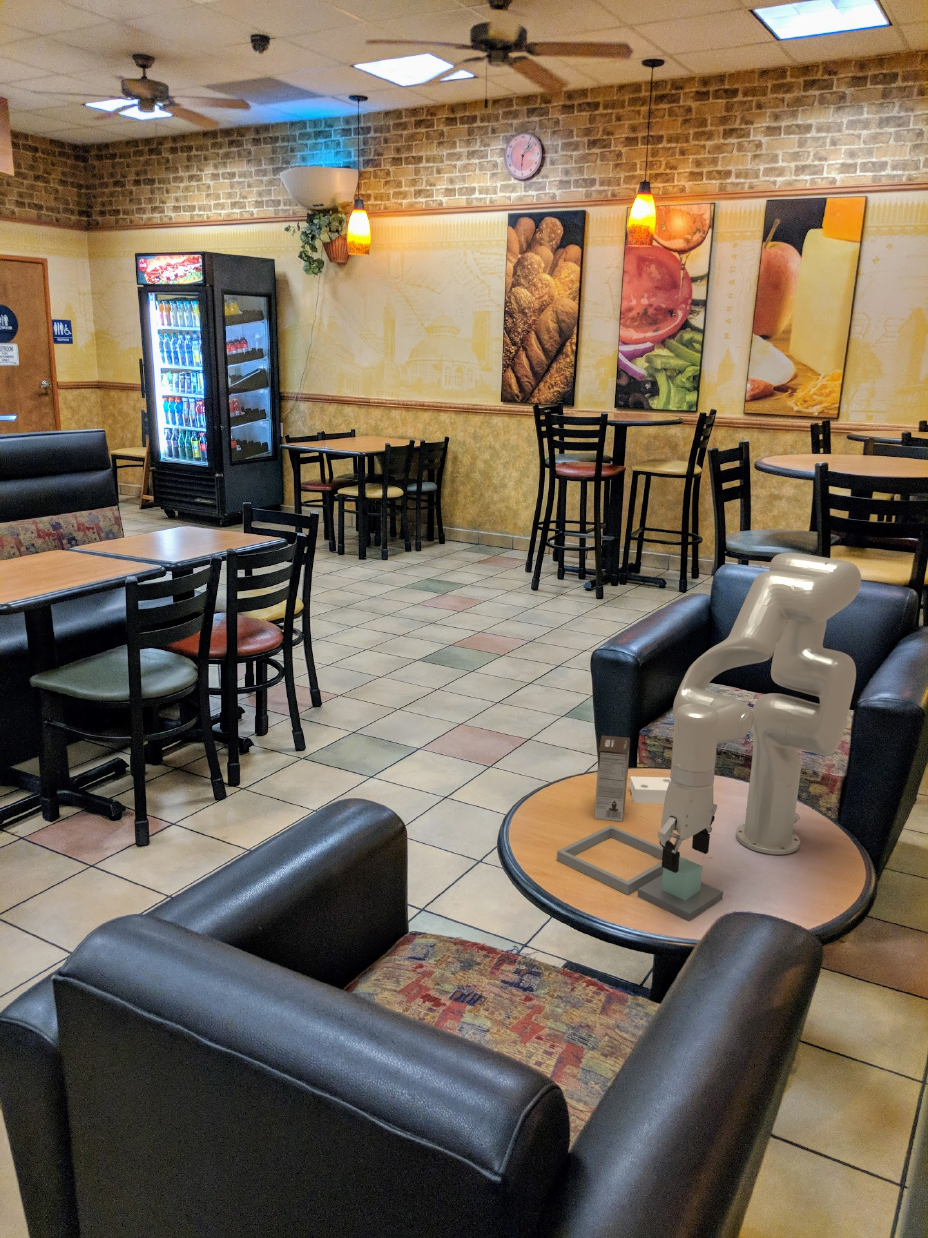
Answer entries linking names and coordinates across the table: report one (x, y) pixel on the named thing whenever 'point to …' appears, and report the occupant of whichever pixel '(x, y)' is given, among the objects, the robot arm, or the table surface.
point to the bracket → (649, 789)
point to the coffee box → (612, 778)
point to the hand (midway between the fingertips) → (685, 860)
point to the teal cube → (683, 879)
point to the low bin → (603, 876)
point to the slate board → (679, 906)
